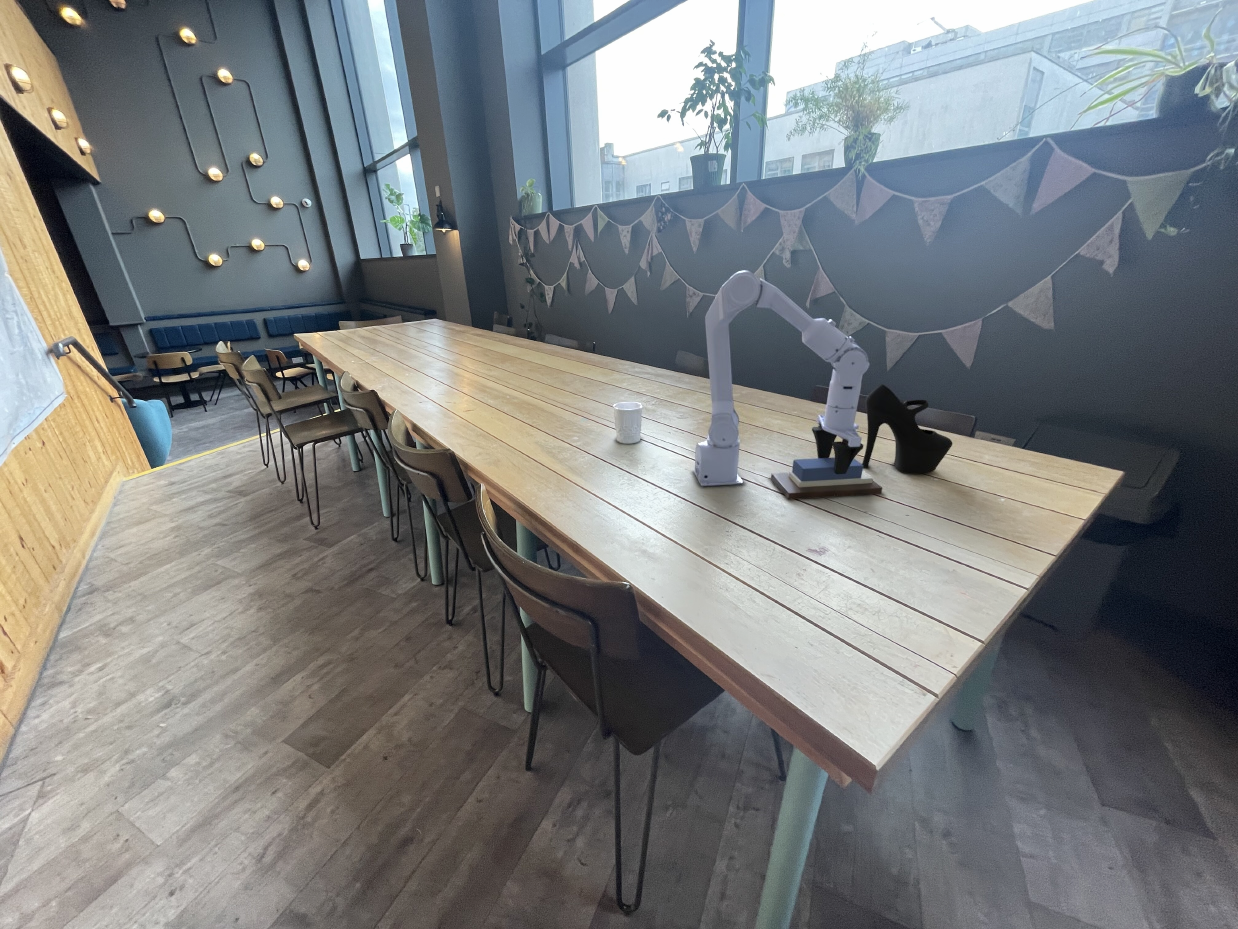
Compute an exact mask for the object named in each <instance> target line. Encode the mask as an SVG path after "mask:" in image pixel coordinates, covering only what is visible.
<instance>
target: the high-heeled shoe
mask: <svg viewBox="0 0 1238 929" xmlns="http://www.w3.org/2000/svg"><path fill="white" fill-rule="evenodd" d="M910 406H917V407H915V408H908V407H910ZM928 407H929V400H926V399H914V400H908V399H907V400H905V401H901V399H899V398H898V396H897V395H896V394H895V393H894V392H893V391H892V390H891V389H890V388H889V387H888V386H887V385H885V384H884V383H881V384H880V385H878V386H876V387H875V388H874V389H873V390H872V391H870V392H869V394H868V395H867V397H866V399H865V409H866V418H867V419H866V420H867V436H866V437H867V438H866V446H865V452H864V456H863V460H862V463H861V464H862V465H863V468H866V469H867V468H869V466H870V461H871V458H872V454H873V451H874V447H875V444H876V442H877V441H876V440H877V437H878V433H879V430H880V427H881V426H883V425H884V424H886V425H887V426H888V427H889V428H890V430H891V432H892V435H893V437H894V440H895V441H894V442H895V452H894V453H895V456H894V462H893V465H894V467H895V469H896V470H898V471H899V472H901V473H904V474H910V475H927V474H931V473H933V472H935V470H936V469H937V467H938V466H939V465H940V463H941V462H942V460H943V459H944V458H945V457H946V455H947V453H948V452H949V451H950V449H951V448H952V447H953V441H952V439H951V438H949V437H947V436H945V435H942V434H940V433H938V432H936V431H935V430H931V429H925V428H924V429H923V428H920V427H919V425H918V423H917V421H916V415H917V414H919V413H921V412H923V411H924V410H926V409H928Z"/></svg>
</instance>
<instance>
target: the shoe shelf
mask: <svg viewBox="0 0 1238 929" xmlns="http://www.w3.org/2000/svg"><path fill="white" fill-rule="evenodd" d="M789 472H790V471H787V472H772V473H771V476H770V479H771V481H772V482H773V484H774V485H775V486H776V487H777V489H779V491H781V493H782V494H783V495H784V496H785V497H786V499H787V500H801V499H820V498H836V497H838V498H839V497H855V496H870V495H882V492H883V486H881V485H880V484H878V483H877V482H876V481H875V480H873V481H872V483H865V484H848V485H831V486H813V487H798V486H797V485H796V484H795V483H794V482H793V480H792V479H791V478H790V477H789Z"/></svg>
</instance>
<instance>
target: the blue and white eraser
mask: <svg viewBox="0 0 1238 929" xmlns="http://www.w3.org/2000/svg"><path fill="white" fill-rule="evenodd" d="M834 464H835V456H833V457H829V458H818V457H815V458H800V459H799V458H797V459H793V461H792V469H791V471H788V472H789V477H790V478H791V479H792V480H793V482H794V483H795V484H796V485H797V486H798V487H813V486H831V485H848V484H865V483H872V481H874V478H873V476H871V475H869V473H867V472H866V471H865V470H864V469H863V468H864V467H863V465H862V463H861V462H860V461H858V459H855V458H854V459H853V461H852V462H851V464H850V466H849V468H848V470H847V472H846V474H835V471H834Z"/></svg>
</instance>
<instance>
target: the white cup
mask: <svg viewBox="0 0 1238 929" xmlns="http://www.w3.org/2000/svg"><path fill="white" fill-rule="evenodd" d="M612 406H613V417H614V418H613V420H614V426H615V427H614V429H615V434H616V441H617V442H618V443H620V444H626V445H627V444H628V445H629V444H635V443H638V442H640V441H641V433H642V423H643V422H642V420H643V418H642V417H643V404H642V403H640V402H637V401H621V402H617V403H615V404H613V405H612Z"/></svg>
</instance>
